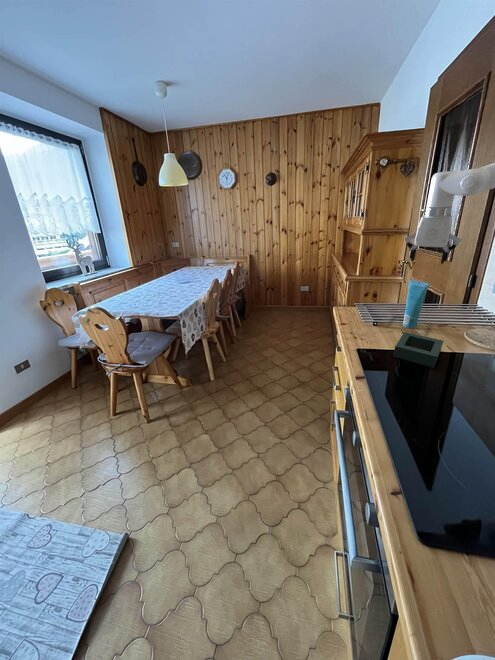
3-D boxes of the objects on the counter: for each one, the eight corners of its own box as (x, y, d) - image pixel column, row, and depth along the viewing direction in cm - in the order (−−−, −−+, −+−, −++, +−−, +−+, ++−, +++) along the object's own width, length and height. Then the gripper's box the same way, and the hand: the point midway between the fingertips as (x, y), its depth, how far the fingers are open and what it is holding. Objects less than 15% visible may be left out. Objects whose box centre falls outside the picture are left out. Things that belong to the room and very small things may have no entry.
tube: (421, 326, 117) (432, 281, 108) (416, 330, 114) (427, 285, 105) (402, 321, 122) (411, 278, 113) (397, 325, 119) (406, 281, 110)
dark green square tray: (439, 352, 100) (443, 340, 98) (433, 369, 92) (437, 356, 89) (401, 343, 107) (404, 331, 105) (392, 358, 99) (395, 346, 96)
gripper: (407, 213, 100) (399, 262, 108) (467, 213, 90) (453, 266, 98) (412, 211, 105) (404, 257, 113) (469, 210, 95) (456, 261, 103)
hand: (427, 261), depth 105 cm, fingers open, 9 cm apart
